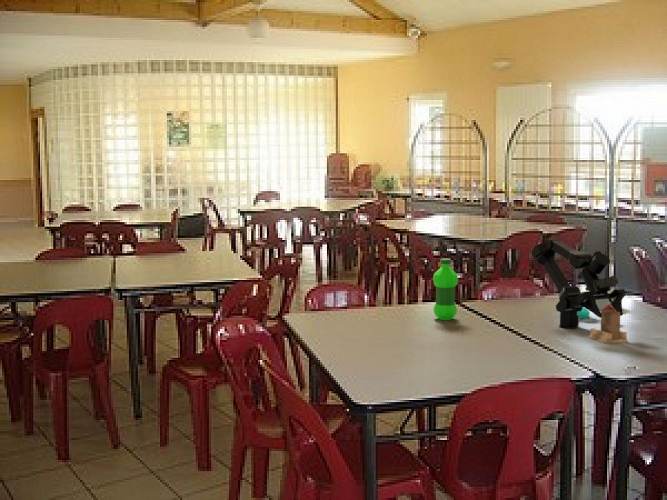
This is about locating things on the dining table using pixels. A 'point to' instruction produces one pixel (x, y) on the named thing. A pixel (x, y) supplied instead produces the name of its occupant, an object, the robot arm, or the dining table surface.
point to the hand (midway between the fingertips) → (611, 316)
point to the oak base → (607, 336)
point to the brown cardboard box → (611, 323)
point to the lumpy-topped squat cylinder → (603, 302)
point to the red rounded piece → (608, 307)
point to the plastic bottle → (445, 291)
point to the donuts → (583, 313)
